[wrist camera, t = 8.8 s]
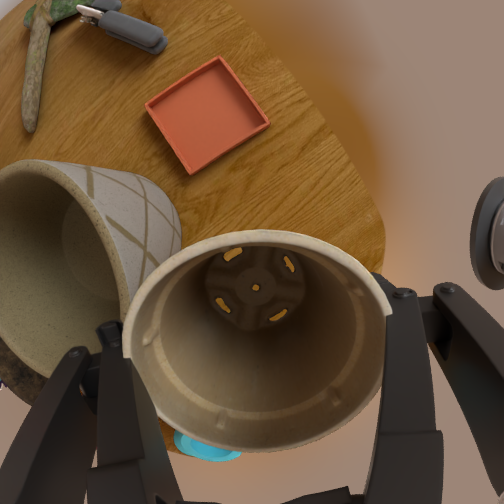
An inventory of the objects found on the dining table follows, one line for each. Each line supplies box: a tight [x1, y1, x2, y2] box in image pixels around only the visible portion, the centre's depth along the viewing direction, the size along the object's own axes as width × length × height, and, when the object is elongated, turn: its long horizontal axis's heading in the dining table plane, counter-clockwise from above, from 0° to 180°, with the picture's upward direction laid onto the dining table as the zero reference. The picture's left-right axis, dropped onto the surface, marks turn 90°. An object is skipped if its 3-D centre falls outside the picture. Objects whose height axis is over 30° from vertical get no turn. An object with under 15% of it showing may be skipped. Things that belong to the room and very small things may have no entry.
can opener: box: [76, 0, 168, 54], centre depth 25 cm, size 19×6×5 cm, turn 50°
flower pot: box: [122, 229, 392, 453], centre depth 13 cm, size 9×9×9 cm
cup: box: [174, 429, 242, 462], centre depth 39 cm, size 12×10×9 cm
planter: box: [0, 159, 182, 378], centre depth 26 cm, size 19×19×20 cm
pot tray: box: [144, 55, 271, 175], centre depth 31 cm, size 11×11×2 cm
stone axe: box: [21, 0, 95, 133], centre depth 24 cm, size 26×5×30 cm
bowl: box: [0, 336, 49, 406], centre depth 35 cm, size 22×22×10 cm
